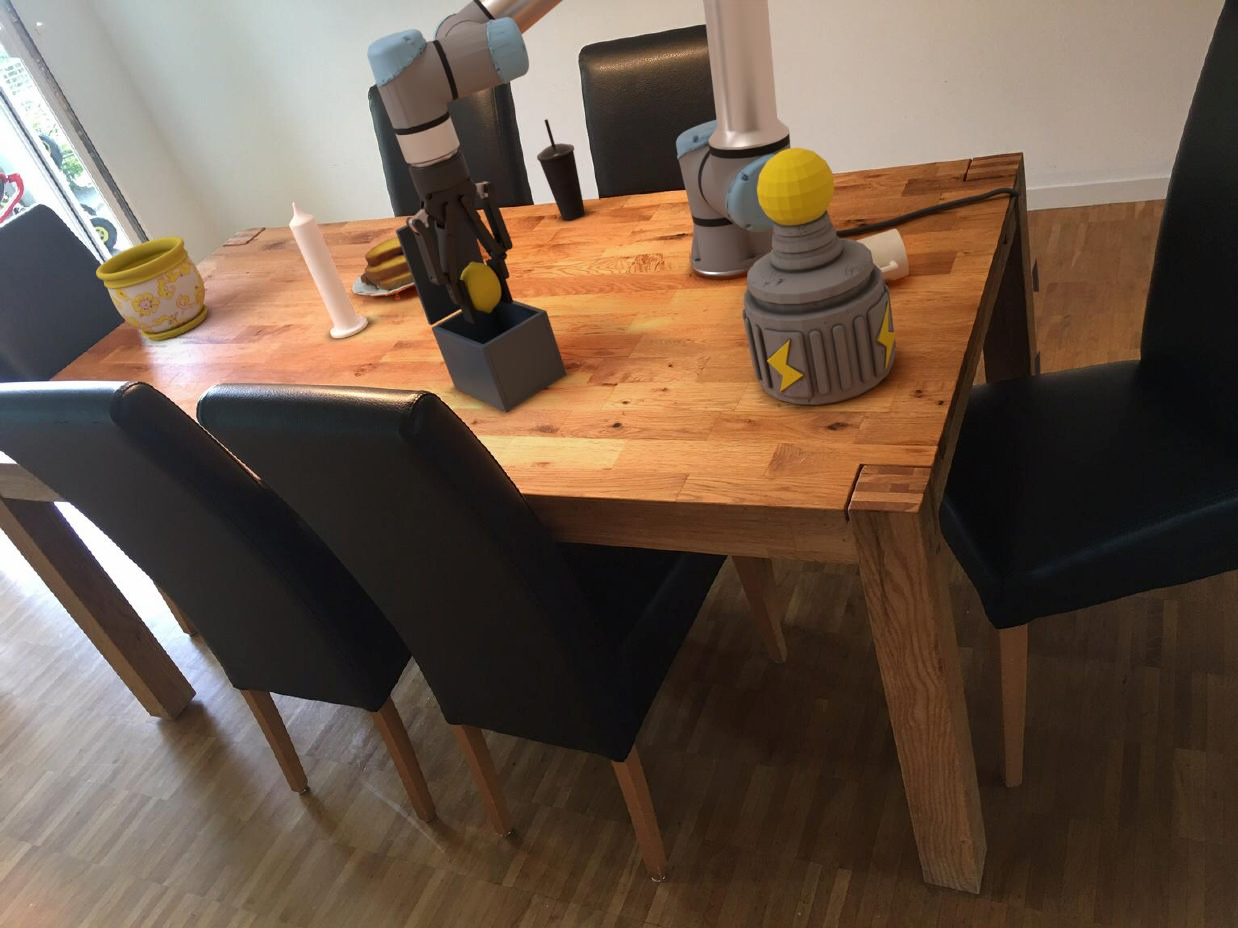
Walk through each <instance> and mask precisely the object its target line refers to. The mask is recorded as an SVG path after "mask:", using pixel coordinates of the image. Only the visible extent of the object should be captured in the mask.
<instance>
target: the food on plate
mask: <svg viewBox="0 0 1238 928" xmlns="http://www.w3.org/2000/svg"><path fill="white" fill-rule="evenodd" d="M364 258H365V261H366V262H367V265H366V267H365V268H364V271H363V272H362V273H361V274H359V275H358V277H357V278H356V279H355V280H354V282H353V284H352V285H351V290H350V291H351V293H353V294H354V293H355V294H358V295H363V296H370V297H374V298H375V297H378V296H381V297H382V296H385V297H387V296H390V295H394V296H395V297H394V299H395V300H399V299H400V298H401V296H400V295H399V292H401V291H405V290H406V289H408V288H411V287H415V284H414V281H413V278H412V276H411V273H410V270H409V267H408V264H407V262H406V259H405V256H404V253H403V250H402V248H401V245H400V242H399V239H398V236H396V237H395V236H394V237H392V238H389V239H387V240H384V241H382V242H381V243H378V244H377V245H375V246H373V247H372V248H370V249H369V250H368V251H367V252H366V253H365V256H364ZM365 303H366V302H365V301H363V302H362V304H365Z"/></svg>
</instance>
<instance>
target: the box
mask: <svg viewBox="0 0 1238 928" xmlns="http://www.w3.org/2000/svg"><path fill="white" fill-rule="evenodd" d="M475 312H476V315H477V318H478V320H479V322H478V323H476V324H473V323H470V322H468V321H465V319H464V316H463V313H462V311H461V310H460V311H459V312H457V313H454V314H452V316H450V317H447V318H445V319H443V321H441V322H439V323H436V325H434V326H432V327H431V330H432V333H433V335H434V338H435V342H436V344H437V346H438V348H439V351H440V354H441V356H442V359H443V361H444V363H445V366H446V368H447V371H448V374H449V377H450V379H451V381H452V384H453V386H454V389H455V390H458V391H460V392H462V393H463V394H466V395H468V396H470V397H472V398H475V399H476V400H478V401H480V402H483V403H484V404H487V405H489V406H491V407H494V408H496V409H498V410H500V411H502V412H504V413H507V412H509V411H512V409H515V407H518V406H519V405H521V404H523V402H525V401H527V400H529V399H530V398H532V397H533V396H535V395H536V394H538V393H540V392H541V391H543V390H545V389H546V388H547V387H549V386H551V385H553V384H554V383H556V382H557V381H559V380H561V379H563V378H564V377H566V376H567V375H568V374H567V370H566V366H565V363H564V361H563V357H562V355H561V352H560V348H559V346H558V342H557V340H556V336H555V334H554V330H553V327H552V324H551V320H550V318H549V314H548V312H547V310H545V309H542V308H539V307H537V306H533V305H529V304H527V303H523V302H520V301H517V300H514V299H513V303H511V304H507V303H504V302H501V301H499V302H498V304H497V305H496V306H495V307H494V308H493V310H492V312H490V313H487V312H485V311H478V310H475Z"/></svg>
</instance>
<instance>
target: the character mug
mask: <svg viewBox="0 0 1238 928" xmlns="http://www.w3.org/2000/svg"><path fill="white" fill-rule="evenodd" d="M899 232H900V231H899V230H898V229H896V228H893V229H889V230H886V231H882V232H880V233H876V234H873V235H870V236H867V237H863V238H860V239H857V240H856V241H857V242H860V243H863V244H864V245H865V246H866V247H867V248H868V249H869V250H870V251H871V253H872V258H873V263H874V264H875V265H876V266H877V267H878V268H879V269H880V270H881V271H882V277H883V279H884V281H885V283H887V282H892V281H896V280H899V279H902V278H905V277H908V276H909V273H910V268H909V267H910V266H909V261H908V255H907V251H906V248H905V244H904V241H903V239H902V236H901V234H900V233H899Z"/></svg>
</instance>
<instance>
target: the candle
mask: <svg viewBox="0 0 1238 928" xmlns="http://www.w3.org/2000/svg"><path fill="white" fill-rule="evenodd" d="M291 205H292V209H293V210H292V211H293V217H292V218H291V220H290V222H289V224H288V226H289V228H290V231H291V233H292V235H293V237H294V239H295V242H296V244H297V246H298V248H299V251H300V252H301V255H302V258H303V260H304V261H305V263H306V266H307V269H308V270H309V272H310V275H311V277H312V279H313V281H314V284H315V286H316V288H317V290H318V292H319V295H320V297H321V299H322V301H323V303H324V305H325V308H326V310H327V312H328V314H329V317H330V319H331V321H332V323H333V327H331V329H330V331H329V333H330V336H331V337H332V338H333V339H346V338H349V337H352V336H354V335H356V334H358V333H360V332H361V331H363V330H365V328H366V327H367V325H368V319H367V318H366V317H365V316H358V314H357V312H356V310H355V308H354V305H353V303H352V301H351V299H350V296H349V293H348V292H347V289H346V287H345V284H344V282H343V280H342V278H341V277H342V276H341V275H340V273H339V270H338V268H337V266H336V264H335V261H334V260H333V257H332V255H331V253H330V250H329V248H328V245H327V243H326V241H325V239H324V237H323V234H322V232H321V230H320V227H319V225H318V223H317V221H316V218H315V216H314V215H312V214H309V213H306V212H304V211H302V210H301V209H300V207H299V206H298V204H297V203H296V202H292V204H291Z"/></svg>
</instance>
